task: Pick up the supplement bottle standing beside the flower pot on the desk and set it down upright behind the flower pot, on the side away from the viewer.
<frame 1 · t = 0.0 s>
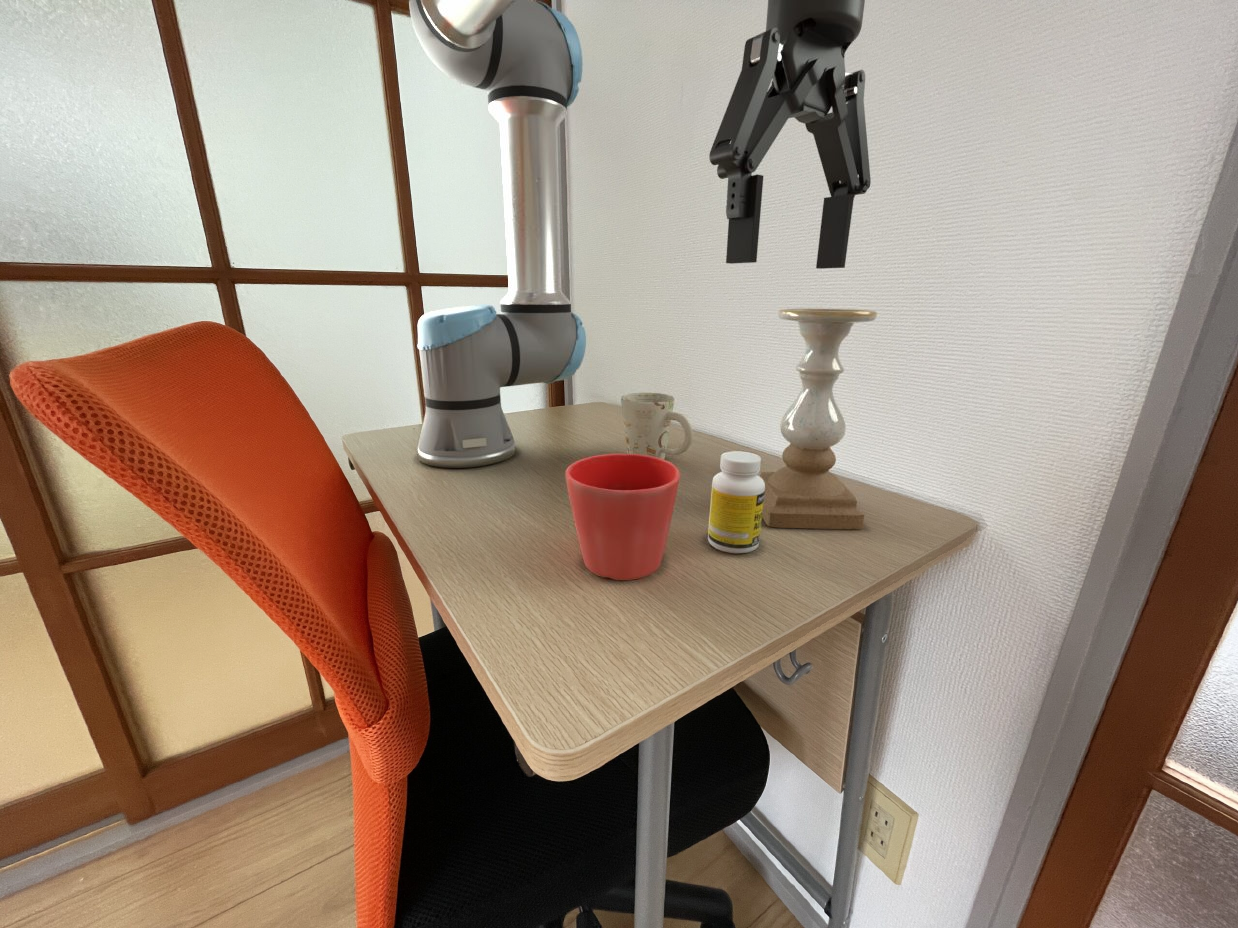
hand: (789, 266, 49), 28 cm above the table, tool pointing down, fingers open, 13 cm apart
candle holder: (801, 511, 66), on the table
flower pot: (622, 563, 53), on the table
supplement bottle: (733, 545, 57), on the table
mug: (657, 461, 85), on the table
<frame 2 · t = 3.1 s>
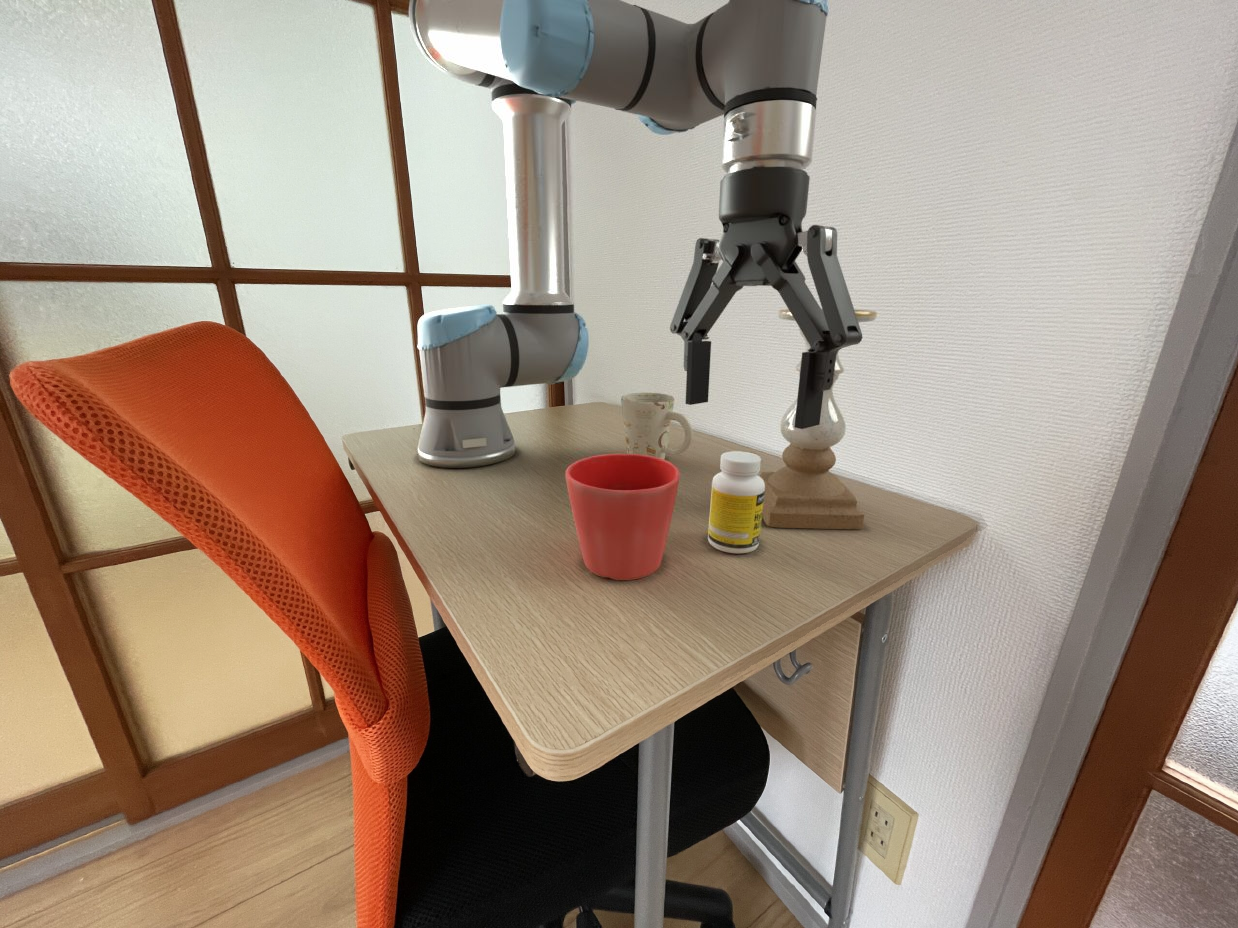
hand: (746, 413, 52), 14 cm above the table, tool pointing down, fingers open, 13 cm apart
nothing on the table moved.
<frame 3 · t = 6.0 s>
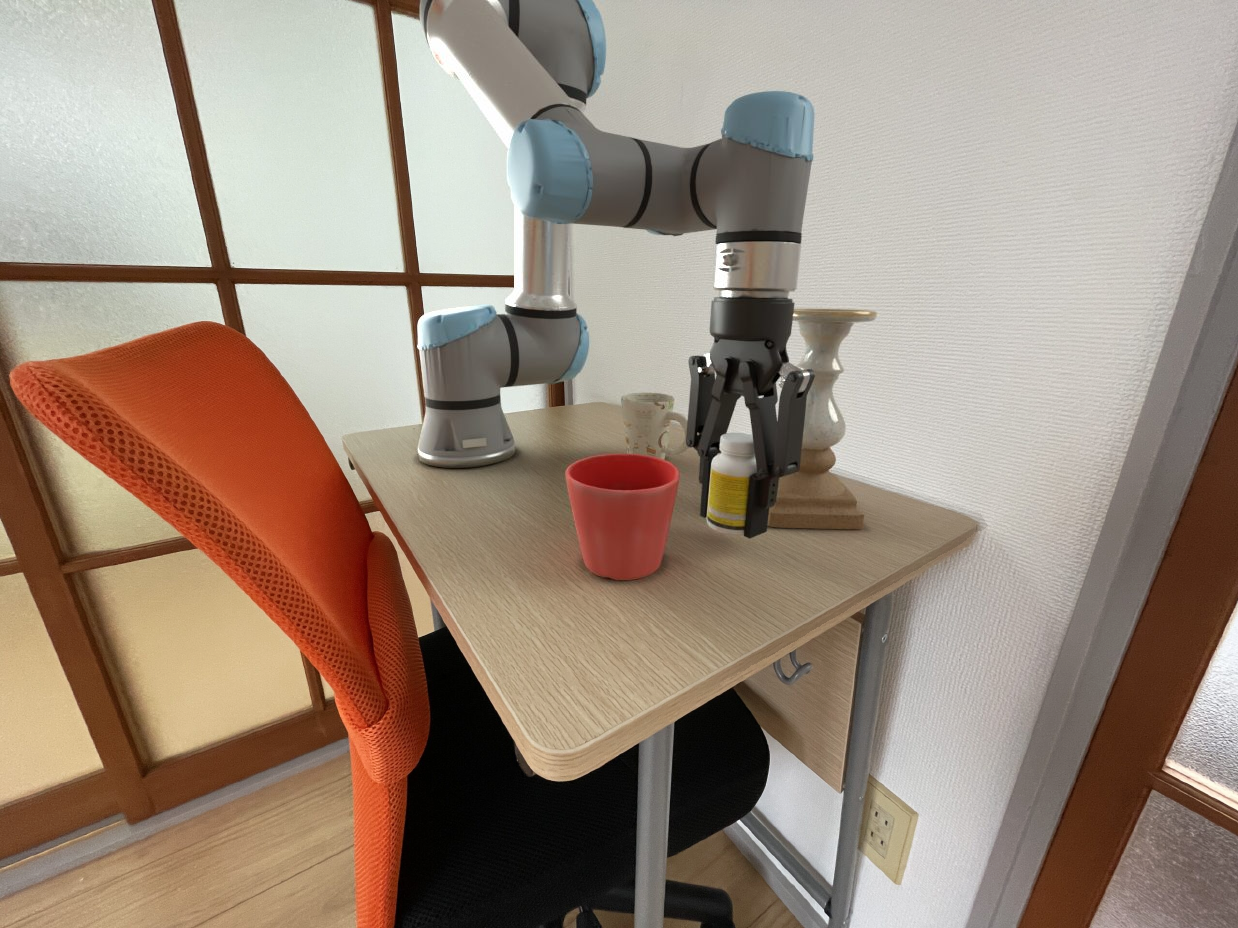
hand: (732, 523, 56), 2 cm above the table, tool pointing down, fingers closed on supplement bottle, 5 cm apart
supplement bottle: (731, 527, 56), point 2 cm above the table, touching gripper
everything else where it was.
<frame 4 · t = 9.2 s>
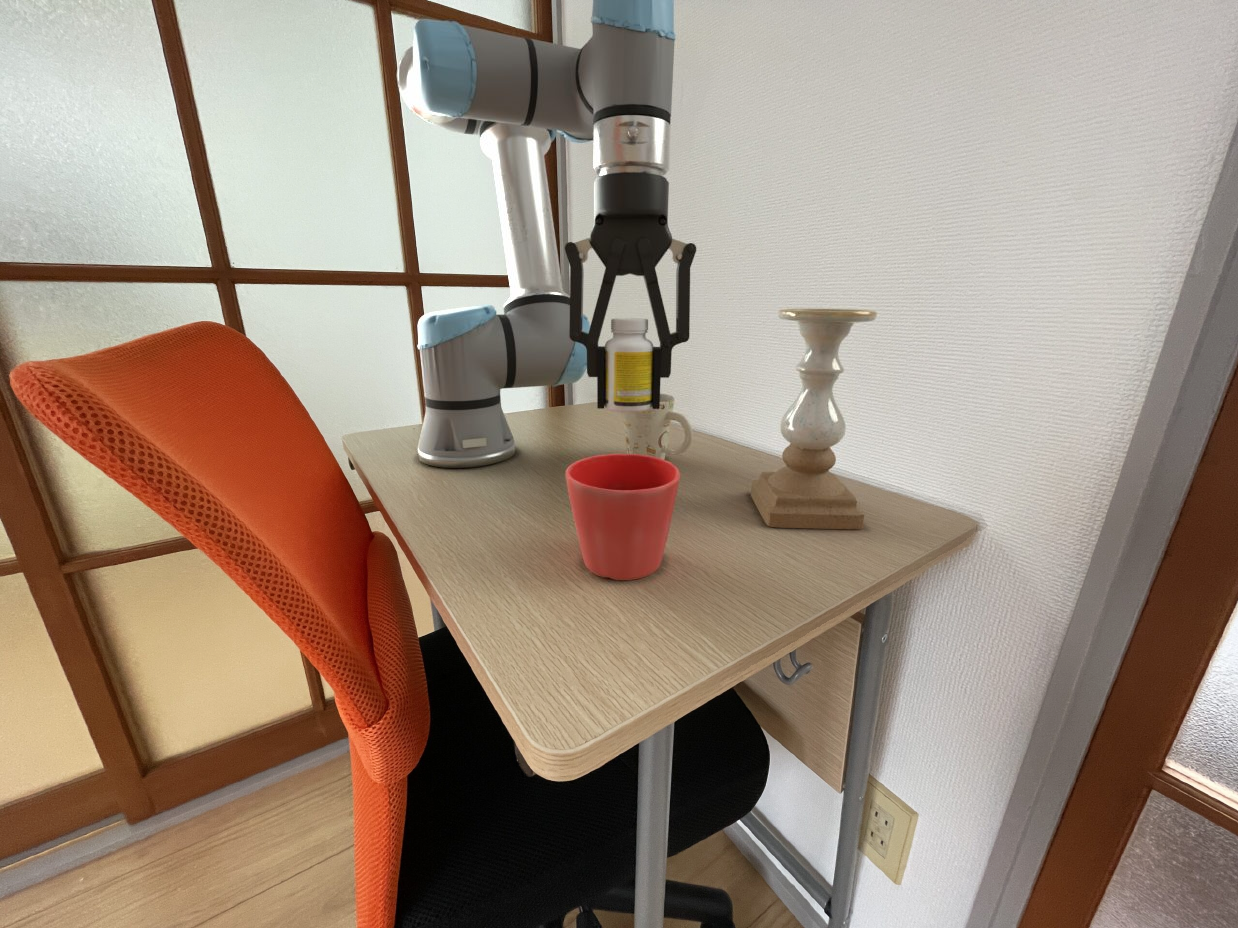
hand: (628, 405, 60), 13 cm above the table, tool pointing down, fingers closed on supplement bottle, 5 cm apart
supplement bottle: (628, 410, 60), point 13 cm above the table, touching gripper
everything else where it was.
when the fingers open (0 cm above the table, at t = 12.5 s): supplement bottle stays where it is, on the table.
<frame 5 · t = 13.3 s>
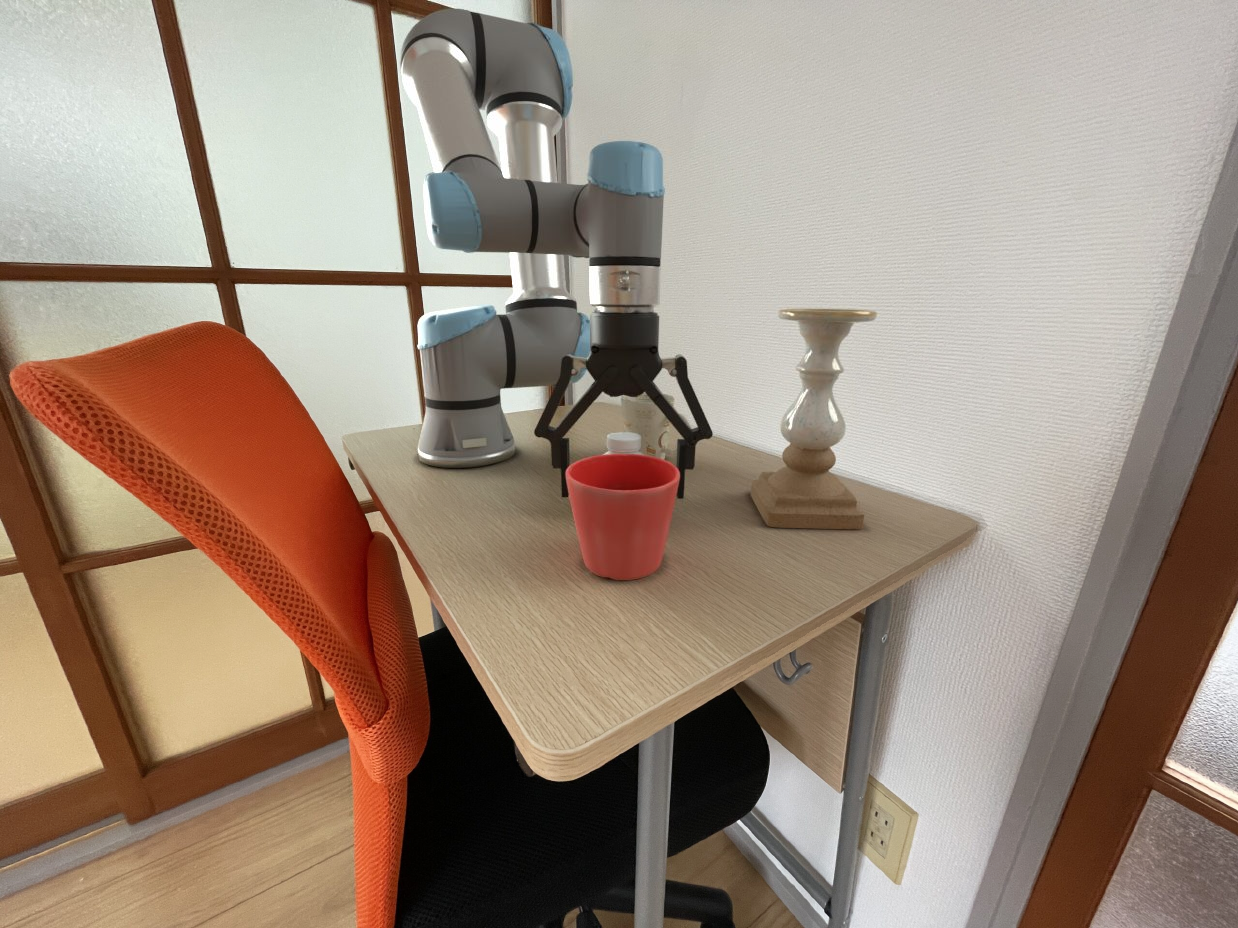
hand: (622, 494, 63), 3 cm above the table, tool pointing down, fingers open, 13 cm apart
supplement bottle: (623, 515, 64), on the table
everything else where it was.
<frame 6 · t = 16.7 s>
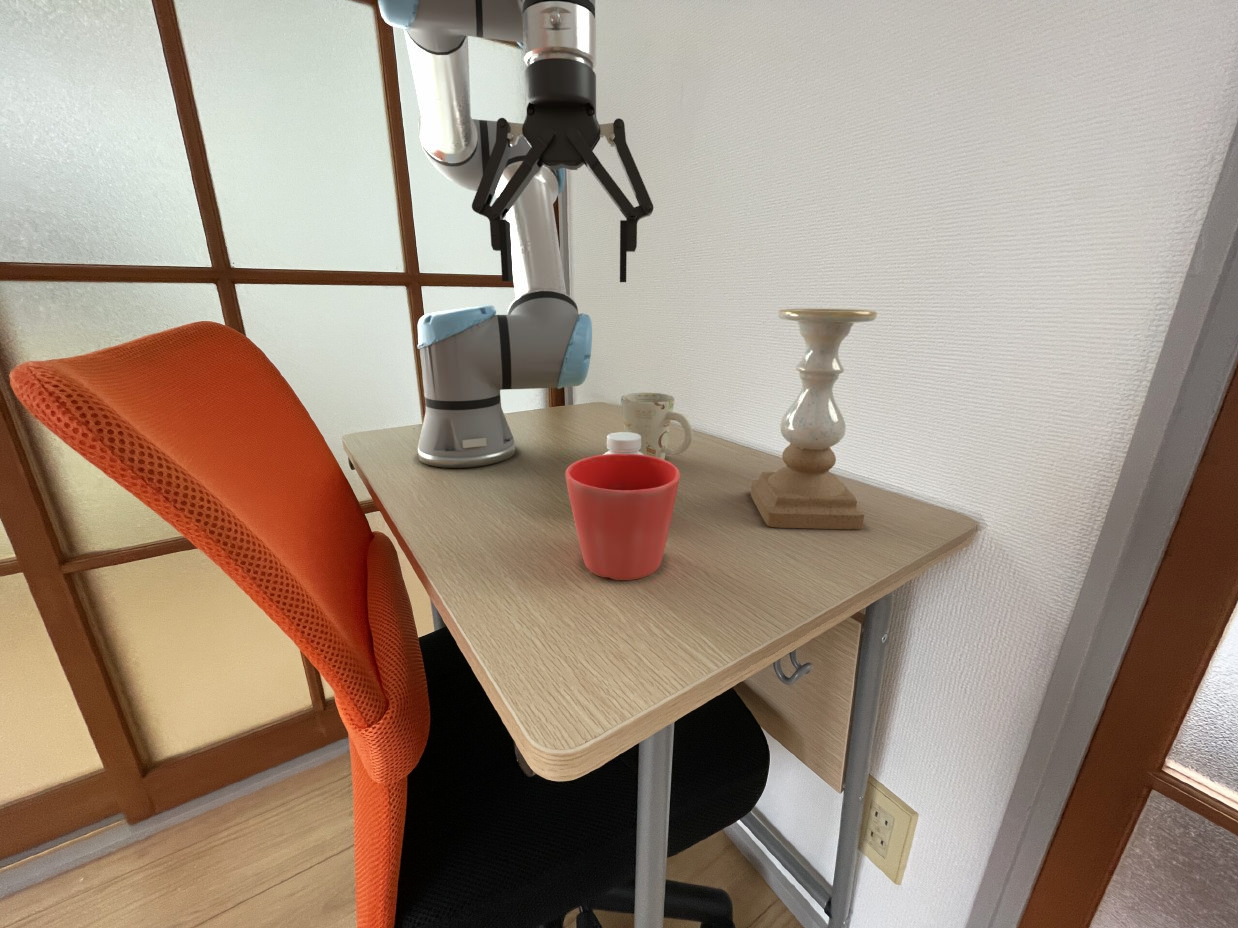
hand: (565, 282, 62), 27 cm above the table, tool pointing down, fingers open, 13 cm apart
nothing on the table moved.
at the end: supplement bottle inside the target area (0.1 cm from its centre), on the table; supplement bottle tilted 0°; flower pot moved 0.2 cm from its start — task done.
